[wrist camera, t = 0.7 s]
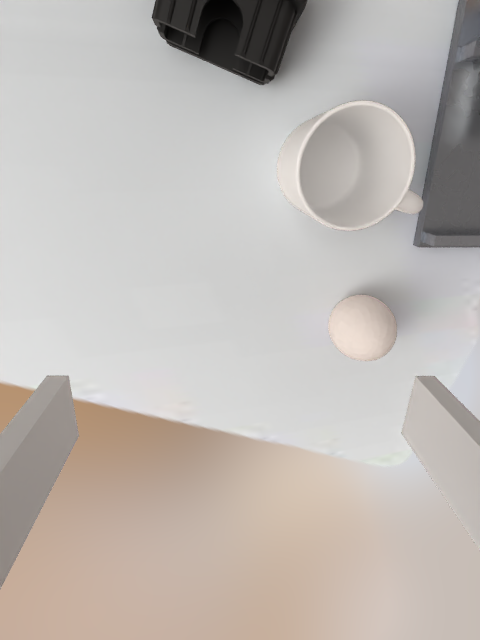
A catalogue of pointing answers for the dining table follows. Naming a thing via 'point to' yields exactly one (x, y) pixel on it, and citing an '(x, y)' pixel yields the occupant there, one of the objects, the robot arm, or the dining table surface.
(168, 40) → the end cap
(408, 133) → the mug
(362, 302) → the egg
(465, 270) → the dining table surface
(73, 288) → the dining table surface
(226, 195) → the dining table surface
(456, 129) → the dock
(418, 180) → the dining table surface
